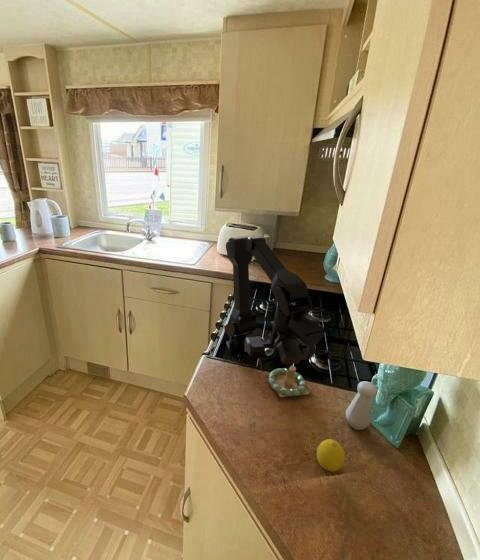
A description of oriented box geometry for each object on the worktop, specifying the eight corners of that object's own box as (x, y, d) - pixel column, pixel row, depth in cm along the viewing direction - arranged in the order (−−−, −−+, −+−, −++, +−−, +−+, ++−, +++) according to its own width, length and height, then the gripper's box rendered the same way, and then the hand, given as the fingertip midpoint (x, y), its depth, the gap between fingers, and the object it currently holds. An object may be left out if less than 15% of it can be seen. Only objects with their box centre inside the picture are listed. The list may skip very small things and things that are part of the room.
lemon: (308, 458, 73) (315, 434, 69) (329, 453, 74) (337, 429, 70) (323, 482, 68) (331, 457, 64) (345, 476, 69) (354, 451, 66)
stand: (268, 377, 97) (271, 359, 94) (295, 374, 98) (299, 356, 95) (279, 399, 89) (283, 380, 86) (309, 396, 90) (313, 377, 87)
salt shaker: (372, 433, 79) (387, 395, 74) (349, 432, 79) (362, 394, 74) (361, 414, 84) (374, 377, 79) (340, 414, 84) (351, 376, 79)
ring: (263, 373, 97) (263, 368, 96) (295, 370, 98) (296, 365, 98) (276, 399, 87) (277, 394, 87) (311, 395, 89) (313, 390, 88)
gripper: (261, 343, 75) (252, 392, 81) (333, 340, 78) (318, 388, 84) (247, 318, 85) (240, 363, 91) (311, 316, 87) (299, 360, 94)
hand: (274, 369), depth 90 cm, fingers open, 7 cm apart
